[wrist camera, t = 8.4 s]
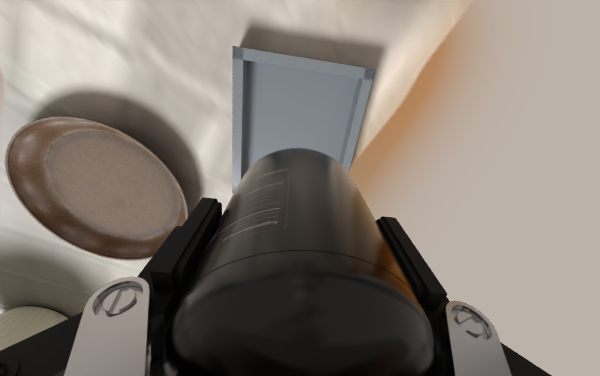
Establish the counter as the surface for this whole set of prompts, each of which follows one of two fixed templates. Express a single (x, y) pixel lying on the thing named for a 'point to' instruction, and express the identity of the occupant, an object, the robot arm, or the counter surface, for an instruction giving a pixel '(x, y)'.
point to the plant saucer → (95, 187)
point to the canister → (25, 323)
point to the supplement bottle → (298, 284)
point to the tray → (295, 106)
